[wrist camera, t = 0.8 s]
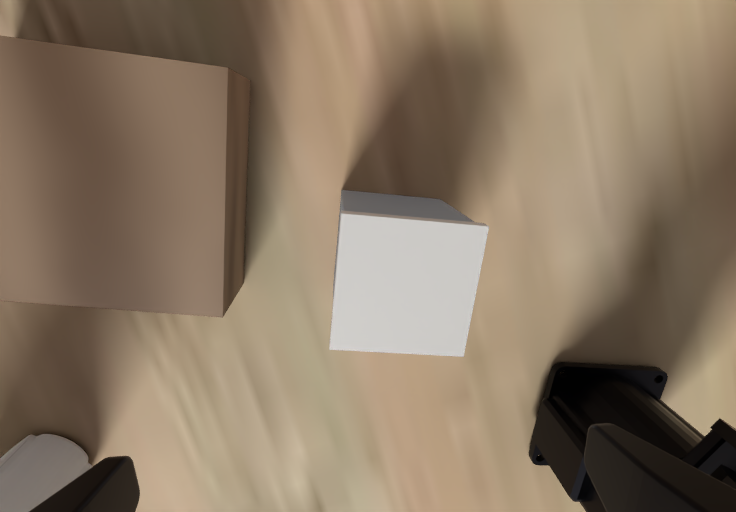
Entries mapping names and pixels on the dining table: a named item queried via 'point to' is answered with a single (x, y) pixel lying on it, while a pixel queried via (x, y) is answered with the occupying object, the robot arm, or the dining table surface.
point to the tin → (404, 275)
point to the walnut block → (121, 180)
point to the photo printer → (38, 470)
